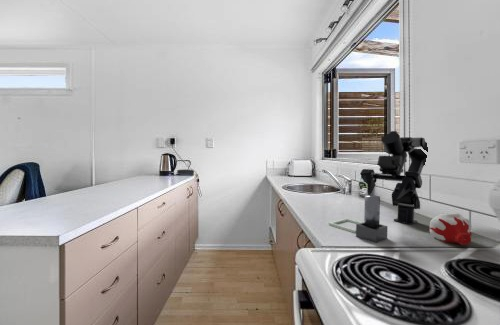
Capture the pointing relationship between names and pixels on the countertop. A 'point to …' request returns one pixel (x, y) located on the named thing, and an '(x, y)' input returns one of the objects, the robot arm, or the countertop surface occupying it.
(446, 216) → the white red flame ovoid
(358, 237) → the base
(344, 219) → the tray
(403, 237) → the countertop surface
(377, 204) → the grey cylinder in socket
